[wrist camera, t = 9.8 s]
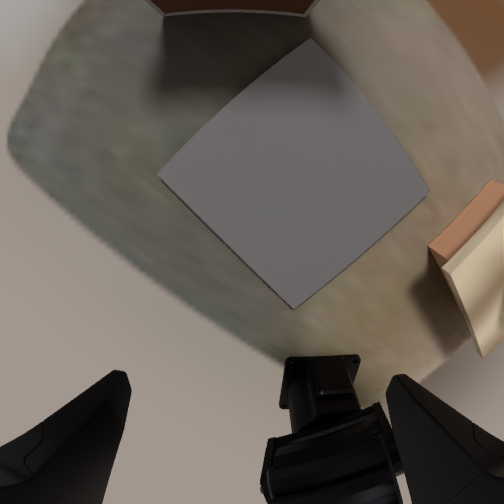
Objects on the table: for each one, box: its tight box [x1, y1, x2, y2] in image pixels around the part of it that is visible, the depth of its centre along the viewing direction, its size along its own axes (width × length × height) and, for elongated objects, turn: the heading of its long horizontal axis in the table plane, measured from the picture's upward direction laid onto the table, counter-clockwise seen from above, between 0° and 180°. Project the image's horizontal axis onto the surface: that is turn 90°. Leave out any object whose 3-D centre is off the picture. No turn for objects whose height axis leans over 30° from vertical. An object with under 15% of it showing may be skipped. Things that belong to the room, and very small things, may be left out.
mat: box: [157, 38, 430, 309], centre depth 18 cm, size 13×13×1 cm
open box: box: [428, 180, 504, 312], centre depth 18 cm, size 8×8×4 cm
